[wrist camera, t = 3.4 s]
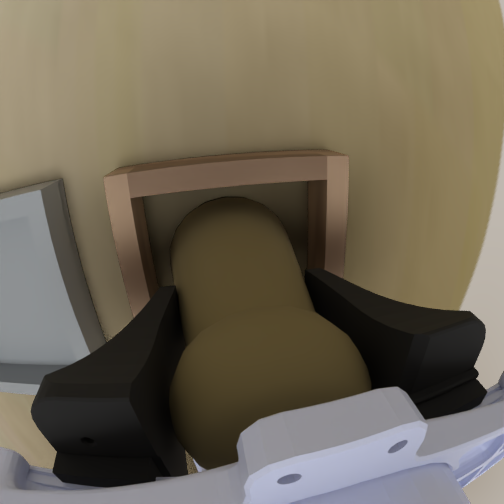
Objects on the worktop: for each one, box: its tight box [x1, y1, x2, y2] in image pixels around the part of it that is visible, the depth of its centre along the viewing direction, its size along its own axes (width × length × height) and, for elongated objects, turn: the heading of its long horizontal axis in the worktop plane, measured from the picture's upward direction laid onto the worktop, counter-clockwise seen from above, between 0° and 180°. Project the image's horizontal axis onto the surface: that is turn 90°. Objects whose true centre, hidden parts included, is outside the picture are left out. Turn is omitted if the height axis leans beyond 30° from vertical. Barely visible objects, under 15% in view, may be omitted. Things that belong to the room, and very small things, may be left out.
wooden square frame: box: [103, 150, 349, 349], centre depth 15 cm, size 10×10×2 cm
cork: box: [169, 197, 372, 470], centre depth 11 cm, size 6×6×11 cm
